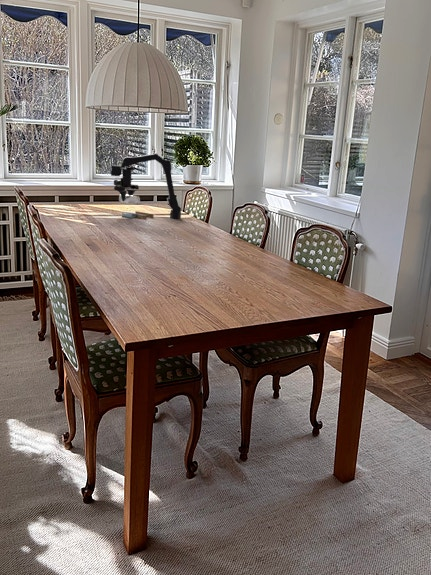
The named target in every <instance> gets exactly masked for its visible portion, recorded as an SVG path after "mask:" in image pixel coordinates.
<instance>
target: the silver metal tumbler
mask: <svg viewBox="0 0 431 575" xmlns="http://www.w3.org/2000/svg"><path fill="white" fill-rule="evenodd" d="M118 201H119V203H124V204H131V205H137V206H139V204H140V203H141V198H140V196H139V195H134V194H133V195H128V193H126V196H125V200H124V201H122V197H121V194H120V193H119V196H118Z"/></svg>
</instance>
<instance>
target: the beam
mask: <svg viewBox="0 0 431 575" xmlns="http://www.w3.org/2000/svg"><path fill="white" fill-rule="evenodd" d="M129 213H131V212H129ZM134 213H135V214H137V218H136V219H142V220H148V219H154V213H149V212H143V211H135V212H134ZM120 215H121V216H122V213H121V214H120Z"/></svg>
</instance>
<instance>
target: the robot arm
mask: <svg viewBox="0 0 431 575" xmlns="http://www.w3.org/2000/svg"><path fill="white" fill-rule="evenodd" d="M150 161H156V162H158V163H159V164H160V165H161V167H162V170H163V172H164V175H165V181H166V182H165V183H166V186H167V191H168V197H166V201H167V205H168V206H169V207H170V208H171V209H170V212H169V218H170V219H172V220H181V219H182V218H181V217H182V207H180V205H179V202H178V199H177V197H176V195H175V194H176V193H175V190H174V184H173V179H172V163H171V161H170V160H169V159H164V158H163V157H161V156H160V155H159V154H158V153H157V152H156V153H152V154H146V155H140V156H125V157H124V158H123V159H122V162H121V164H120V165H114V164H113V165H111V169H110V177H120V176H122V177H121V178H120V180H118V179H114V180H113V185H114V188H113V189H114V191H117V192H118V193H119V195H120V194H121V197H122V201H124V200H125V196H126V194H127V195H133V196H134V195H135V192H136V191H137V190H139V185H138V184H132V181H133V178H132V171H135V168H134V167H133V166H135V164H139V163H144V162H150Z"/></svg>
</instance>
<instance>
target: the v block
mask: <svg viewBox="0 0 431 575" xmlns="http://www.w3.org/2000/svg"><path fill="white" fill-rule="evenodd" d="M121 214H122V215H121V217H122V218H128V219H131V220H132V219H138V218H137V214H135V212H130V213H129V212H125V213H124V212H122V213H121Z"/></svg>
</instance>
